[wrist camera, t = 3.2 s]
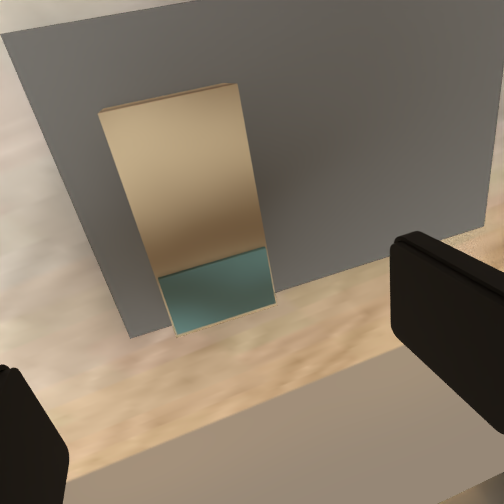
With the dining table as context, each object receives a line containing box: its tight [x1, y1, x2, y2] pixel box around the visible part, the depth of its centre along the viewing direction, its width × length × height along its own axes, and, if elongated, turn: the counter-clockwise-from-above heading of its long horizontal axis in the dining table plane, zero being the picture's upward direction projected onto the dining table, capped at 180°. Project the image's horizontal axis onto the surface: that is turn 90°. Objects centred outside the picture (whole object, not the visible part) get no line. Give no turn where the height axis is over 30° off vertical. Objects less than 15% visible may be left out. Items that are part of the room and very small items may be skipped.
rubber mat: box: [0, 0, 504, 339], centre depth 18 cm, size 14×22×1 cm, turn 101°
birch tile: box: [98, 83, 277, 338], centre depth 16 cm, size 10×5×3 cm, turn 11°
